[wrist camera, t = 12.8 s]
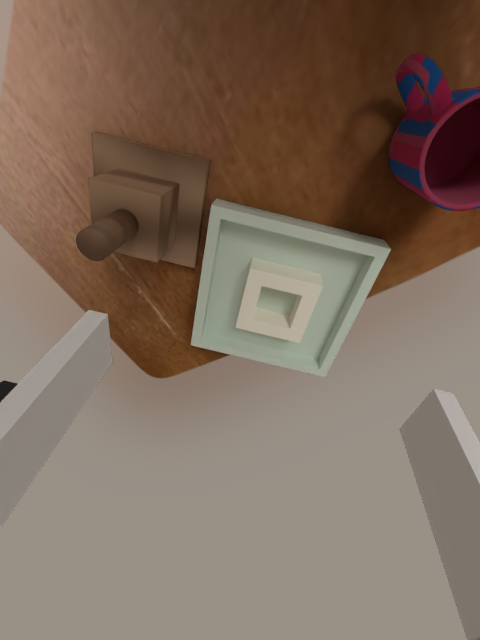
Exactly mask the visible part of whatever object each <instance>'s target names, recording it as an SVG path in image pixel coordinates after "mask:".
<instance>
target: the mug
mask: <svg viewBox="0 0 480 640" xmlns="http://www.w3.org/2000/svg"><path fill="white" fill-rule="evenodd" d="M415 79H416V80H417V81H418V82H419V84H420V85H421V87H422V88H423V90H424V91H425V93H426V95H427V97H428V98H426V99H425V98H424V96H423V95H422V93H421V91H420V90H419V88H418V86H417V83H416V81H415ZM396 82H397V86H398V89H399V91H400V94H401V96H402V99H403V101H404V103H405V106H406V108H407V110H408V113H407V114H406V115H405V116H404V118H403V119H402V120H401V122H400V123H399V125H398V127H397V128H396V130H395V132H394V135H393V137H392V140H391V144H390V148H389V164H390V168H391V171H392V173H393V175H394V177H395V178H396V179H397V180H398V181H399V182H400V183H401V184H402V185H404V186H405V187H407V188H408V189H410V190H412V191H413V192H415V193H417V194H418V195H420V196H421V197H423V198H425V199H426V200H428V201H429V202H431V203H433V204H434V205H436V206H438V207H440V208H443V209H446V210H451V211H466V210H472V209H476V208H479V207H480V87H477V88H470V89H462V90H454V91H450V88H449V86H448V83H447V81H446V79H445V77H444V75H443V74H442V72H441V70H440V69H439V67H438V66H437V65H436V64H435V62H434V61H433V60H431V59H430V58H429V57H427V56H425V55H422V54H413V55H411V56H410V57H408V58H407V59H406V60H404V62H403V63H402V64H401V65H400V67H399V68H398V69H397V71H396Z"/></svg>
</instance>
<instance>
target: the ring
mask: <svg viewBox="0 0 480 640" xmlns="http://www.w3.org/2000/svg"><path fill="white" fill-rule="evenodd" d="M262 286H264V287H268V288H272V289H276V290H280V291H284V292H288V293H293V294H297V297H296V300H295V303H294V306H293V308H292V311H291V314H290V315H286V314H281V313H277V312H273V311H269V310H265V309H261V308H257V307H256V305H257V301H258V298H259V294H260V291H261V287H262ZM322 288H323V283H322V278H321V274H317V273H313V272H309V271H305V270H300V269H296V268H292V267H288V266H284V265H280V264H276V263H272V262H268V261H264V260H260V259H256V258H252V261H251V265H250V270H249V274H248V278H247V282H246V286H245V290H244V294H243V298H242V302H241V306H240V310H239V314H238V319H237V323H236V327H235V328H239V329H243V330H247V331H252V332H256V333H260V334H264V335H268V336H272V337H276V338H280V339H285V340H289V341H293V342H297V343H300V341H301V339H302V337H303V334H304V332H305V329H306V327H307V324H308V322H309V320H310V317H311V315H312V312H313V310H314V307H315V305H316V303H317V300H318V298H319V295H320V293H321V290H322Z"/></svg>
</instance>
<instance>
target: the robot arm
mask: <svg viewBox="0 0 480 640" xmlns="http://www.w3.org/2000/svg"><path fill="white" fill-rule="evenodd" d="M112 363H113V362H112V352H111V342H110V332H109V322H108V314H105V313H100V312H96V311H92V310H88V311H87V312H86V313H85V314H84V315H83V317H81V318H80V320H79V321H78V322H77V323H76V324H75V325H74V326H73V327H72V328H71V329H70V330H69V331H68V332H67V333H66V334H65V335H64V336H63V337H62V338H61V339H60V341H58V343H57V344H56V345H55V346H54V347H53V348H52V349H51V350H50V351H49V352H48V353H47V354H46V355H45V356H44V357H43V358H42V359H41V360H40V361H39V362H38V364H37V365H36V366H35V367H34V368H33V369H32V370H31V371H30V372H29V373H28V374H27V375H26V376H25V377H24V378H23V379H22V380H21V381H20V382H19V383H18V384H17V383H12V382H8V381H2V382H0V529H1V528H2V526H3V525H4V523H5V522H6V520H7V519H8V517H9V516H10V514H11V513H12V511H13V510H14V508H15V507H16V505H17V504H18V502H19V501H20V500H21V498H22V497H23V495H24V494H25V492H26V490H27V489H28V487H29V486H30V485H31V483H32V482H33V480H34V479H35V477H36V476H37V474H38V473H39V471H40V470H41V468H42V467H43V466H44V464H45V463H46V461H47V460H48V458H49V457H50V455H51V454H52V452H53V451H54V449H55V448H56V446H57V445H58V443H59V442H60V440H61V439H62V437H63V436H64V434H65V433H66V431H67V430H68V429H69V427H70V426H71V424H72V423H73V421H74V419H75V418H76V417H77V415H78V414H79V412H80V411H81V409H82V408H83V406H84V405H85V403H86V402H87V400H88V399H89V397H90V396H91V394H92V393H93V391H94V390H95V389H96V387H97V385H98V384H99V383H100V381H101V380H102V378H103V377H104V375H105V374H106V372H107V371H108V369H109V368H110V366H111V365H112ZM400 432H401V435H402V438H403V441H404V444H405V447H406V450H407V454H408V457H409V460H410V463H411V466H412V469H413V472H414V476H415V478H416V482H417V485H418V488H419V491H420V494H421V497H422V500H423V503H424V507H425V510H426V512H427V516H428V519H429V522H430V525H431V529H432V531H433V534H434V538H435V541H436V544H437V547H438V550H439V553H440V557H441V560H442V563H443V566H444V569H445V572H446V575H447V578H448V581H449V585H450V588H451V591H452V594H453V597H454V600H455V603H456V606H457V609H458V613H459V616H460V619H461V622H462V625H463V628H464V631H465V634H466V638H467V640H480V443H479V441H478V439H477V437H476V435H475V433H474V432H473V430H472V428H471V426H470V424H469V422H468V420H467V418H466V417H465V415H464V413H463V411H462V409H461V407H460V406H459V404H458V402H457V400H456V398H455V396H454V394H453V393H450V392H445V391H441V390H437V389H433V390H432V391H431V393H430V394H429V395H428V396H427V397H426V398H425V400H424V401H423V402H422V403H421V404H420V406H419V407H418V408H417V409H416V410H415V411H414V413H413V414H412V415H411V416H410V418H409V419H408V420H407V421H406V422H405V423H404V424H403V426H402V427H401V428H400Z"/></svg>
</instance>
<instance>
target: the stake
mask: <svg viewBox="0 0 480 640" xmlns="http://www.w3.org/2000/svg"><path fill="white" fill-rule="evenodd" d="M92 145H93V161H94V177H91V178H89V191H90V205H91V218H92V225H90V226H88V227H86V228H85V229H83V230H81V231H80V232H79V233H78V234H77V237H76V243H77V246H78V248H79V250H80V252H81V253H82V254H83V255H84V256H85V257H87V258H89V259H91V260H94V261H101V260H104V259H105V258H106V257H108V256H109V255H110V254H111V253H113V252H115V253H120V254H124V255H128V256H132V257H136V258H140V259H144V260H148V261H152V262H156V263H157V262H158V261H159V260H163V261H167V262H171V263H175V264H179V265H183V266H187V267H191V268H195V266H196V264H197V258H198V250H199V243H200V235H201V228H202V221H203V213H204V206H205V198H206V191H207V183H208V176H209V169H210V161H211V160H208V159H204V158H200V157H196V156H192V155H188V154H184V153H180V152H176V151H172V150H168V149H164V148H160V147H156V146H152V145H148V144H144V143H139V142H135V141H131V140H127V139H123V138H119V137H115V136H111V135H107V134H103V133H99V132H94V133H92Z"/></svg>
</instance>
